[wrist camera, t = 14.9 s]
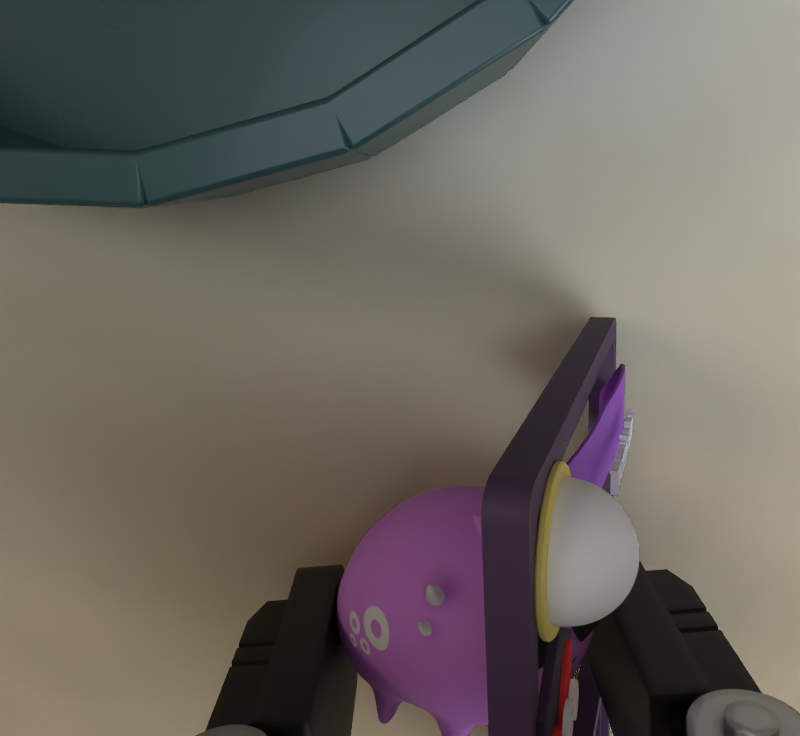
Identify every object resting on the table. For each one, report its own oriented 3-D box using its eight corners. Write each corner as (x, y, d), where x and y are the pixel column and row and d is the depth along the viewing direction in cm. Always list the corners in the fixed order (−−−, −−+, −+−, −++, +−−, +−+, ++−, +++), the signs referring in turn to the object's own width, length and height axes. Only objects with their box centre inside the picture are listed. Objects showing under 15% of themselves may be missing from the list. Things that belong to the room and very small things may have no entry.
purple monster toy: (613, 1303, 7) (634, 505, 5) (196, 1094, 9) (71, 446, 7) (649, 788, 13) (667, 315, 11) (391, 726, 15) (359, 310, 13)
